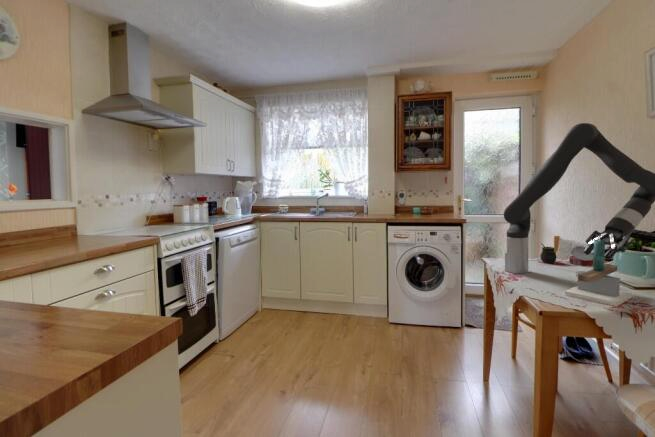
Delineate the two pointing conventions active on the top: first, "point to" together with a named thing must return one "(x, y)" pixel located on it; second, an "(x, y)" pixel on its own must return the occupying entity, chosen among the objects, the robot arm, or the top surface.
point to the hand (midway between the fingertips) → (595, 255)
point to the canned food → (580, 257)
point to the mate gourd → (548, 254)
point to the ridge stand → (600, 291)
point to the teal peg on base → (598, 264)
